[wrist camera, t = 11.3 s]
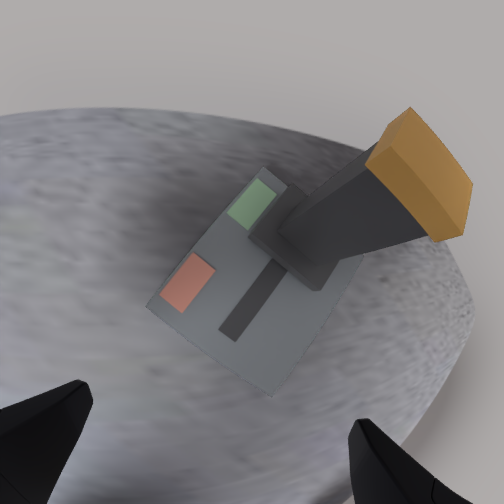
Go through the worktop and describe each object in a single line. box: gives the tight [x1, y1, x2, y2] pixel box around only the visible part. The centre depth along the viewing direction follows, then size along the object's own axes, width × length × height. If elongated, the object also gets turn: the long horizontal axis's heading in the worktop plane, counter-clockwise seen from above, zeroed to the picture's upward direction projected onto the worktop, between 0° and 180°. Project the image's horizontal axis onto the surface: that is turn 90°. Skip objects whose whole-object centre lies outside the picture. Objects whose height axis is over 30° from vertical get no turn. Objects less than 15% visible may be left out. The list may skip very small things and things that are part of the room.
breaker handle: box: [248, 107, 473, 291], centre depth 12 cm, size 4×5×11 cm
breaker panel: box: [145, 166, 364, 397], centre depth 17 cm, size 11×9×2 cm
